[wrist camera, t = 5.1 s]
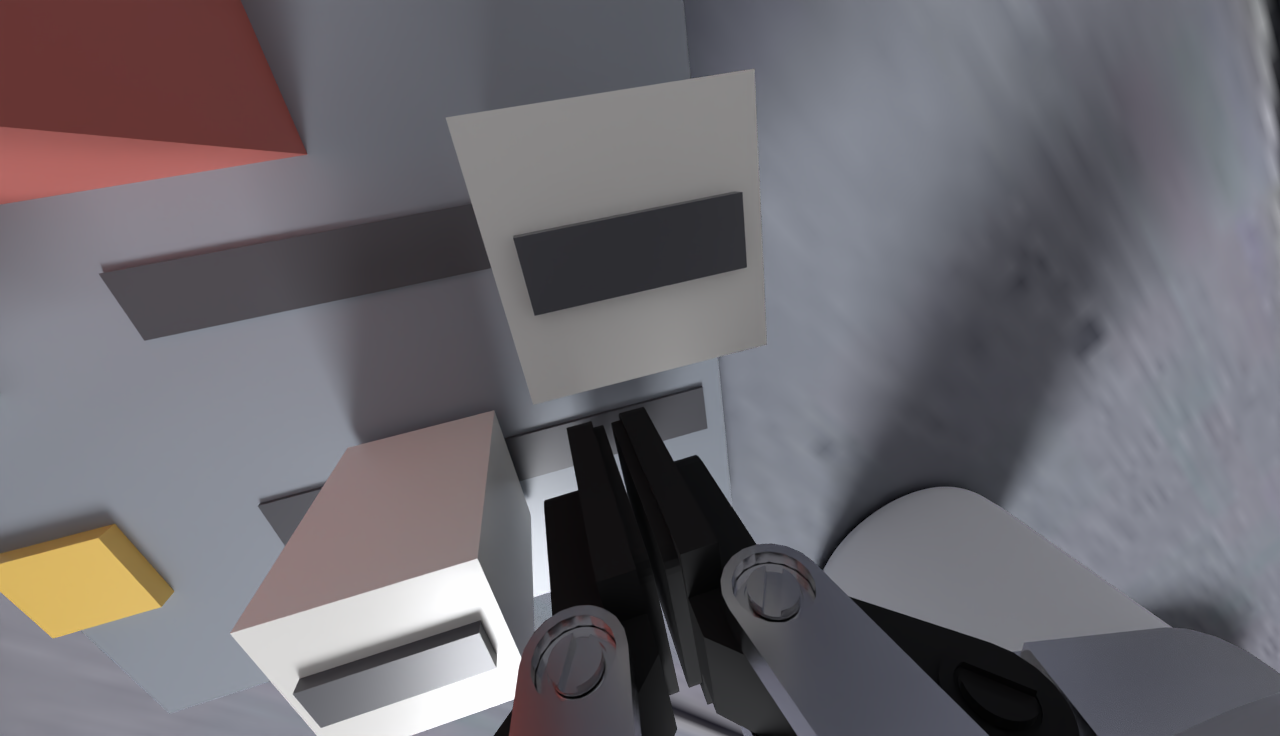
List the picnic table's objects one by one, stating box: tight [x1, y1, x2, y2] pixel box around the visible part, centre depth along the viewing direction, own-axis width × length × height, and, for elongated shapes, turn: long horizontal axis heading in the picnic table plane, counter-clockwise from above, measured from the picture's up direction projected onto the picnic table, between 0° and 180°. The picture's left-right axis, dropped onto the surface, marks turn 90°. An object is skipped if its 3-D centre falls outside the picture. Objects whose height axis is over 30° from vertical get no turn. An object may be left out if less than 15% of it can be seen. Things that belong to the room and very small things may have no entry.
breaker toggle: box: [230, 410, 534, 736], centre depth 8 cm, size 3×3×4 cm
